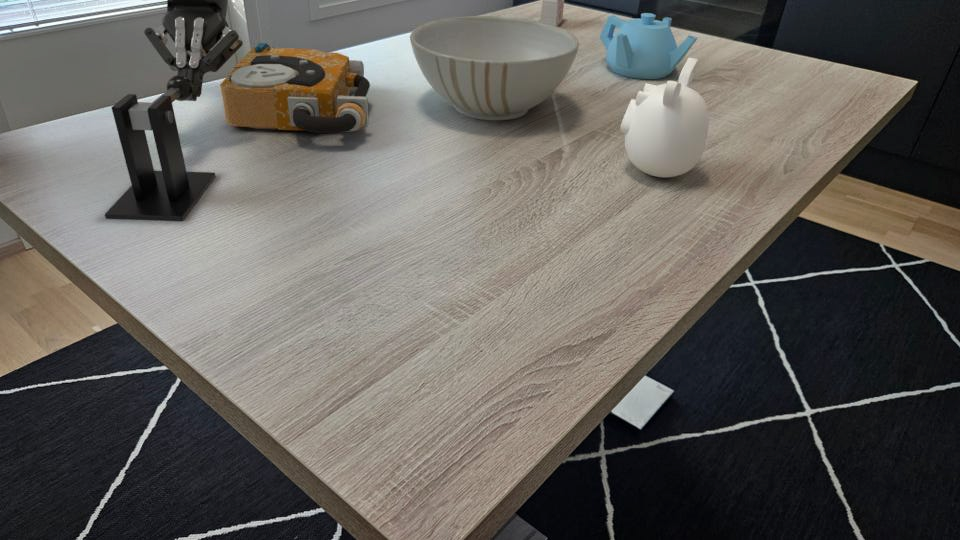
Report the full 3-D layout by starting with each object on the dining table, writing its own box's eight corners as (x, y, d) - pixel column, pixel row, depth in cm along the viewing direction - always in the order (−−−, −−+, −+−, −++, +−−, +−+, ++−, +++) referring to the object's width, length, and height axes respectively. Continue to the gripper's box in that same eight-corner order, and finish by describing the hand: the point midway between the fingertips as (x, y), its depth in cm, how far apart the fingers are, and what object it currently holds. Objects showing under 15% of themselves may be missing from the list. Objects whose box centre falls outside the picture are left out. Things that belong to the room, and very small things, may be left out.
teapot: (666, 59, 147) (676, 5, 141) (690, 82, 134) (701, 24, 128) (594, 58, 145) (601, 4, 139) (612, 81, 133) (620, 23, 127)
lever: (174, 96, 93) (169, 72, 91) (198, 97, 93) (194, 73, 91) (129, 133, 81) (122, 105, 79) (157, 134, 81) (151, 106, 79)
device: (384, 41, 121) (359, 100, 96) (386, 88, 125) (362, 156, 100) (252, 36, 120) (192, 94, 95) (258, 83, 125) (202, 151, 100)
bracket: (147, 178, 92) (124, 82, 85) (216, 180, 92) (198, 85, 85) (106, 223, 82) (76, 118, 75) (184, 225, 82) (160, 121, 75)
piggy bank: (614, 151, 105) (629, 50, 97) (694, 159, 103) (716, 58, 95) (613, 188, 95) (630, 78, 86) (701, 197, 93) (727, 87, 85)
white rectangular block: (540, 26, 165) (544, -19, 160) (547, 20, 171) (551, -24, 165) (555, 28, 164) (559, -17, 159) (562, 21, 170) (566, -22, 164)
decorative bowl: (456, 152, 103) (457, 70, 96) (386, 95, 122) (384, 23, 115) (603, 125, 114) (613, 50, 107) (518, 76, 133) (522, 10, 127)
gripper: (256, -3, 100) (246, 111, 97) (163, -6, 100) (150, 108, 97) (240, -35, 93) (228, 87, 90) (139, -39, 92) (124, 84, 89)
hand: (187, 98), depth 93 cm, fingers closed
